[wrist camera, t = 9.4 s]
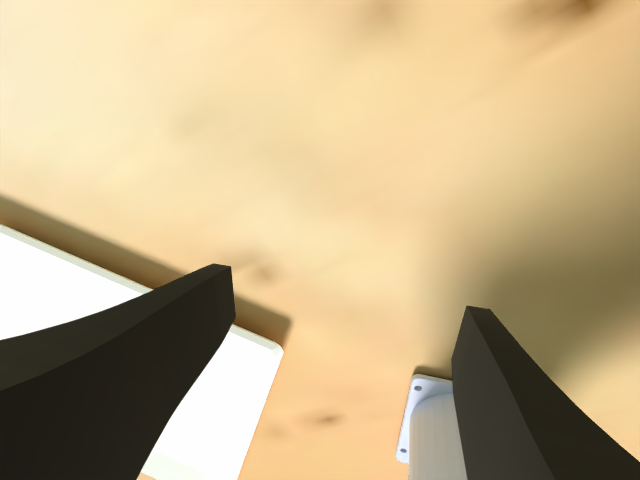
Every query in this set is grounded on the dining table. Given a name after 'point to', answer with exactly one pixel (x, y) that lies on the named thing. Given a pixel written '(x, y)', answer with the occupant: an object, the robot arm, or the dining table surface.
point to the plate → (201, 400)
